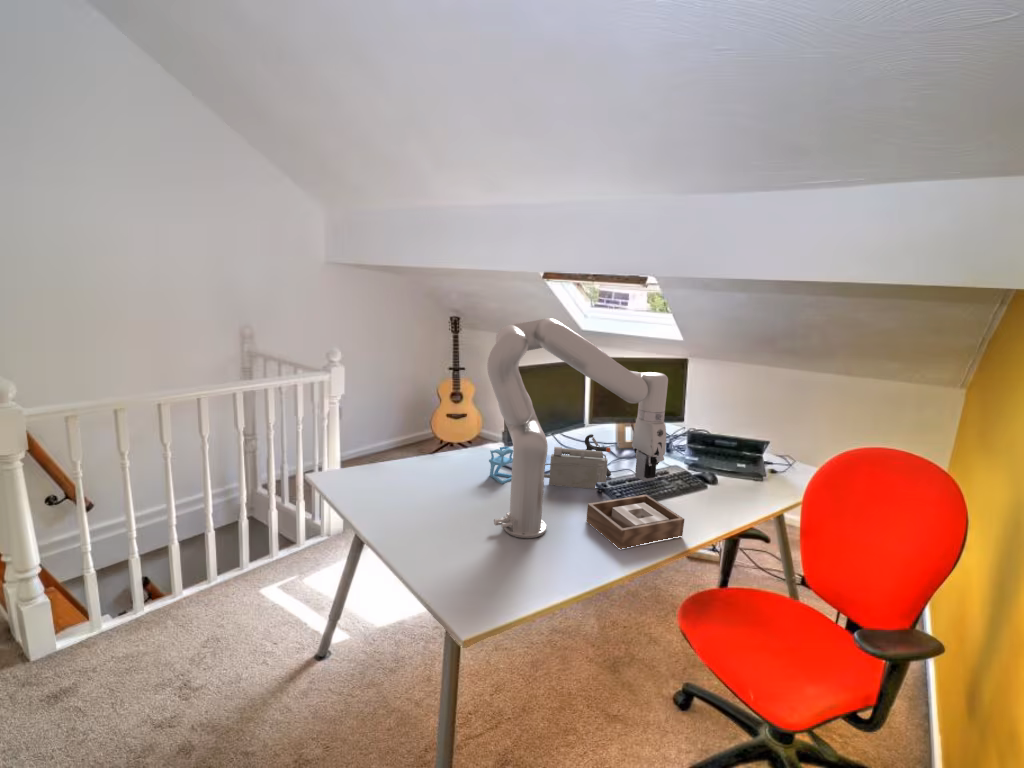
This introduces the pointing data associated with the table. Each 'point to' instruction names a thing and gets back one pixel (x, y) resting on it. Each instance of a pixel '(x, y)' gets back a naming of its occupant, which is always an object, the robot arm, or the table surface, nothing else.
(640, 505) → the walnut box
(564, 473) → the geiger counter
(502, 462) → the chair
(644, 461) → the metal peg
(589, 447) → the hand grip strengthener
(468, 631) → the table surface
